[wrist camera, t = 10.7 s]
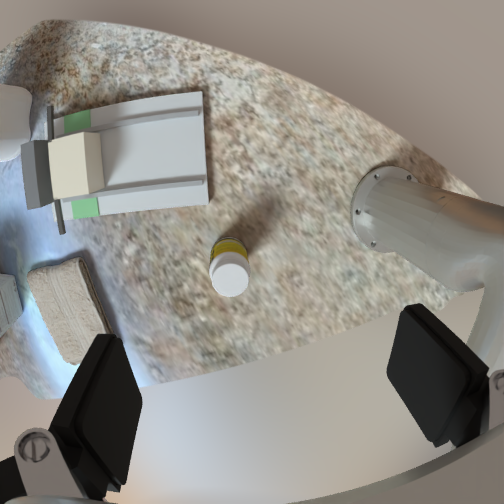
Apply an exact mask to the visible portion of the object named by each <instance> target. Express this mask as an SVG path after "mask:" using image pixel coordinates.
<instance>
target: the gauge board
mask: <svg viewBox="0 0 504 504" xmlns="http://www.w3.org/2000/svg"><path fill="white" fill-rule="evenodd" d="M44 130H45V140H33V141H30V142H27V143H24V144H21V160H22V171H23V181H24V189H25V196H26V203H27V209H28V210H29V209H35V208H40V207H43V206H45V205H48V204H50V203H51V204H52V211H53V217H54V222H56V221H57V217H56V211H55V204H54V198H53V190H52V182H51V173H50V163H49V150H48V131H47V122H44ZM81 132H90V133H100V138H101V153H102V165H103V175H104V185H105V188H103V189H100V190H98V191H95V192H93V193H90V194H85V195H79V196H73V197H67V198H62V199H60V201H61V207H62V214H63V220H70V219H79V218H86V217H94V216H100V215H108V214H116V213H124V212H133V211H142V210H152V209H161V208H172V207H183V206H194V205H206V204H209V195H208V181H207V167H206V151H205V133H204V113H203V93H202V91H200V92H190V93H181V94H172V95H165V96H158V97H151V98H145V99H139V100H133V101H128V102H122V103H117V104H112V105H108V106H103V107H99V108H94V109H89V110H85V111H81V112H77V113H73V114H70V115H66V116H64V117H60V118H57V119H54V139H57V138H61V137H65V136H69V135H73V134H77V133H81Z"/></svg>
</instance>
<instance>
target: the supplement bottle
mask: <svg viewBox="0 0 504 504" xmlns="http://www.w3.org/2000/svg"><path fill="white" fill-rule="evenodd" d="M209 273H210V277H211V280H212V284H213V287H214V288H215V290H216V291H217V292H218V293H219V294H221V295H223V296H228V297H233V296H237V295H239V294H241V293H242V292H244V291H245V289H246V288H247V286H248V283H249V277H250V265H249V261H248V256H247V252H246V248H245V246H244V245H243V243H242V242H241V241H239V240H238V239H236V238H232V237H226V238H222V239H220V240H218V241H217V242H216V243H215V244H214V245H213V247H212V250H211V256H210V267H209Z"/></svg>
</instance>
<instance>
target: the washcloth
mask: <svg viewBox="0 0 504 504" xmlns="http://www.w3.org/2000/svg"><path fill="white" fill-rule="evenodd" d="M27 282H28V283H29V286H30V289H31V292H32V294H33V297H34V298H35V300H36V303H37V306H38V308H39V310H40V313H41V315H42V317H43V320H44V322H45V324H46V326H47V328H48V330H49V332H50V334H51V336H52V337H53V340H54V342H55V343H56V345H57V348H58V350H59V352H60V354H61V355H62V357H63V359H64V360H65V361H66V362H67V363H71V364H72V365H77V364H79V363H81V362H82V360H83V358H84V356H85V355H86V353H87V351H88V349H89V347H90V346H91V344H92V342H93V340H94V338H95V337H96V335H97V334H114V333H113V330H112V328H111V326H110V323H109V321H108V319H107V316H106V314H105V312H104V309H103V307H102V304H101V302H100V299H99V297H98V295H97V292H96V290H95V287H94V284H93V282H92V279H91V276H90V273H89V270H88V268H87V265H86V263H85V261H84V259H83V258H81V257H78V258H77V257H76V258H73V259H70V260H67V261H65V262H62V264H60V265H54V266H45V267H42V268H39V269H38V268H37V269H35V270H32V271H30V272H28V274H27Z"/></svg>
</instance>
